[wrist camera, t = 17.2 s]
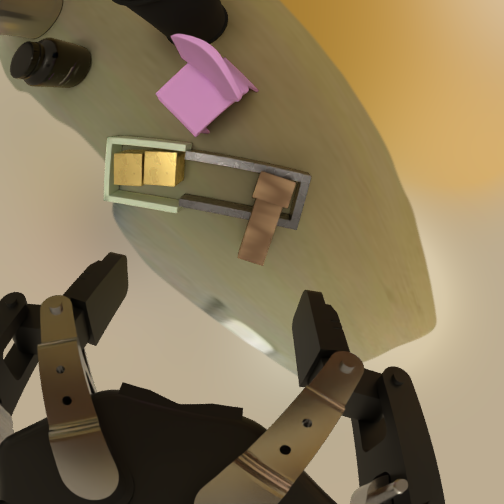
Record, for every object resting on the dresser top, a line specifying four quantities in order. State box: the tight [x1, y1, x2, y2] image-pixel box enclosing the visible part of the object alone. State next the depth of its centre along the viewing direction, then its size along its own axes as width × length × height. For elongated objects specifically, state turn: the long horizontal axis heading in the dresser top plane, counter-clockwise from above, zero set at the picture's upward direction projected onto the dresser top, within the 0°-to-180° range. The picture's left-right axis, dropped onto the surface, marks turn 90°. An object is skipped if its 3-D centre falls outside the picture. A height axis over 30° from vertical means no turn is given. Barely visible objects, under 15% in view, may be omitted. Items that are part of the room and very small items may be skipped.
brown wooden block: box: [238, 171, 296, 266], centre depth 32 cm, size 4×4×10 cm
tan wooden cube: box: [144, 148, 186, 186], centre depth 31 cm, size 4×4×4 cm
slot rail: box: [179, 149, 311, 230], centre depth 33 cm, size 15×7×2 cm, turn 78°
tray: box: [104, 135, 192, 213], centre depth 32 cm, size 11×9×3 cm
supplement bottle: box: [10, 38, 91, 88], centre depth 21 cm, size 7×7×12 cm
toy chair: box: [156, 34, 259, 137], centre depth 22 cm, size 8×9×15 cm
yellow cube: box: [114, 150, 149, 186], centre depth 31 cm, size 4×4×4 cm
